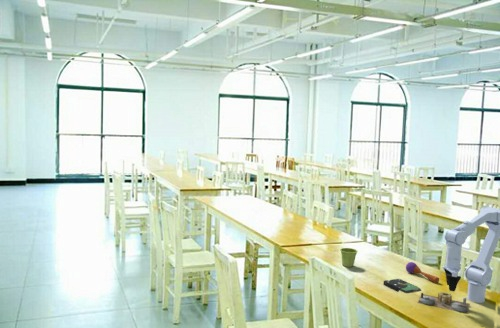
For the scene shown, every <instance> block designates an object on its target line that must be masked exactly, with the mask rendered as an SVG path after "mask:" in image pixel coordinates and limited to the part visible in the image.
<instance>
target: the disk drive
mask: <svg viewBox="0 0 500 328" xmlns="http://www.w3.org/2000/svg"><path fill="white" fill-rule="evenodd" d="M383 286H385V287H387V288H390V289H391V290H392V291H395V292H403V293H405V294H406V293H413V292H419V291H422V289H421V288H420V287H418V286H417V285H414V284H412V283H410V282H407V280H403V279H401V278H395V279H390V280H383Z"/></svg>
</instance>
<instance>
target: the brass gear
mask: <svg viewBox="0 0 500 328" xmlns="http://www.w3.org/2000/svg"><path fill="white" fill-rule="evenodd" d="M437 295H438V296H437V297H438V300H439V301H440V302H442V299H445V303H450V302H452V300H453V299H452V298H453V295H452V294H451V293H448V292H442V291H440V292H438V293H437Z"/></svg>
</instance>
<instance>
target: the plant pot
mask: <svg viewBox="0 0 500 328" xmlns="http://www.w3.org/2000/svg"><path fill="white" fill-rule="evenodd" d="M340 253H341V254H340V255H341V262H342V263H341V264H342V266H344V267H346V268H351V267H354V265H355V261H356V256H357V253H358V250H357V249H355V248H349V247H342V248H340Z"/></svg>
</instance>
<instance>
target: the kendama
mask: <svg viewBox="0 0 500 328" xmlns="http://www.w3.org/2000/svg"><path fill="white" fill-rule="evenodd" d="M405 270H406V272H407V273H409V274H414V275H419V274H421V275H422V276H424V277H425V278H427V279H428V280H430V281H431V282H433V283H434V284H438V283H439V282H440V278H439V276H435V275H432V274H429V273H426V272H423V271H422V270H421V268H420V267H419V266H418V264H417V263H415V262H413V261H410V262H407V264H406V265H405Z"/></svg>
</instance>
